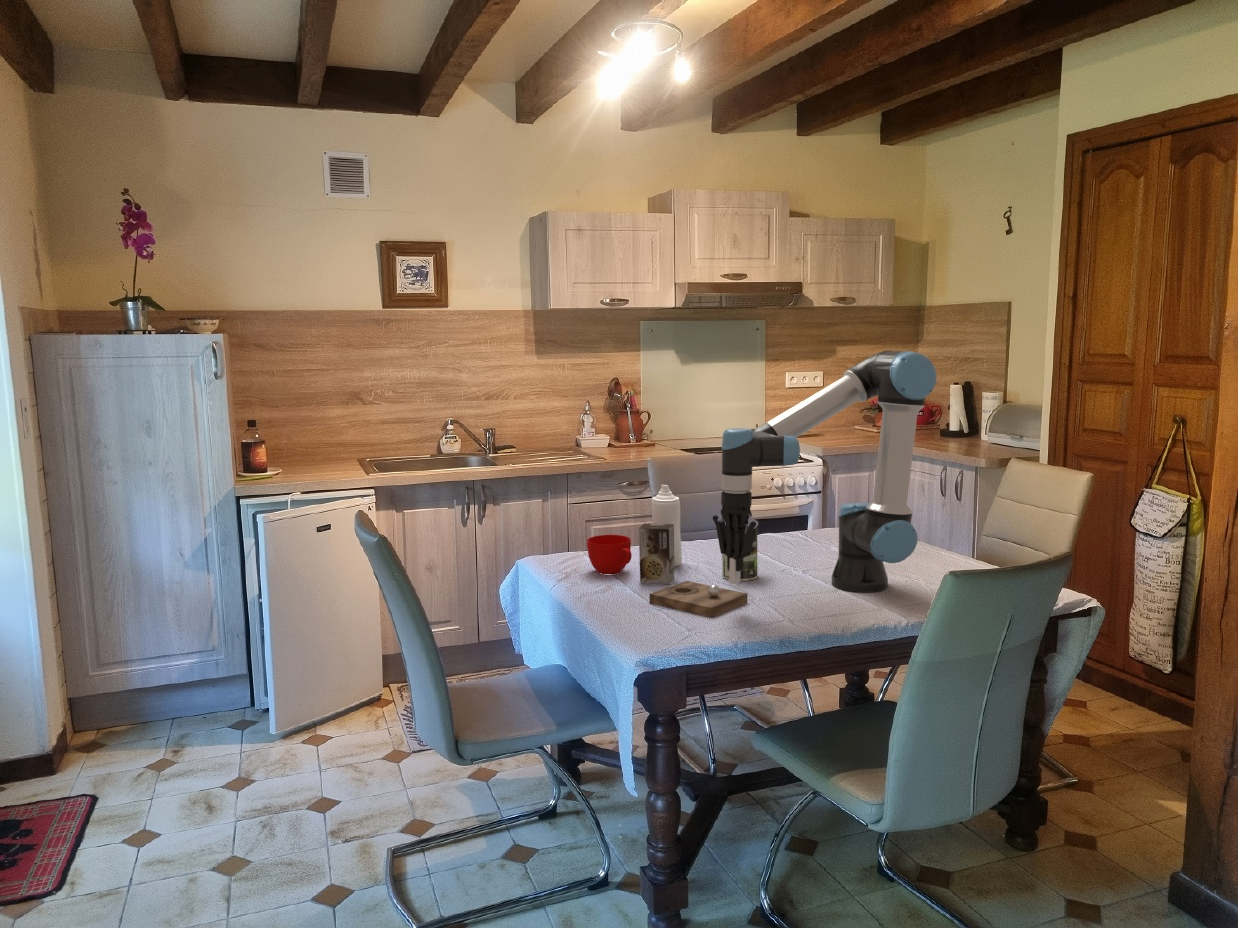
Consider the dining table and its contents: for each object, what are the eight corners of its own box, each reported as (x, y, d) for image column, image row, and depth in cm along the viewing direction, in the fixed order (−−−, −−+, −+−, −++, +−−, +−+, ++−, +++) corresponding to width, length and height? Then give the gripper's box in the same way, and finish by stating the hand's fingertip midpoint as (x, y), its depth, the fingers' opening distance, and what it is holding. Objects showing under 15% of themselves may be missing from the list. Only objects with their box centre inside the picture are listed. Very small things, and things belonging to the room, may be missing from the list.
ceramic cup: (612, 583, 266) (611, 549, 265) (579, 571, 280) (578, 538, 278) (648, 575, 274) (648, 542, 272) (614, 564, 287) (613, 532, 286)
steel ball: (722, 596, 243) (722, 584, 242) (715, 599, 241) (715, 587, 240) (712, 594, 245) (712, 582, 245) (705, 597, 243) (705, 585, 242)
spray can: (692, 566, 283) (691, 484, 279) (660, 571, 279) (660, 488, 275) (673, 558, 293) (672, 479, 290) (643, 562, 289) (642, 482, 285)
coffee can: (758, 572, 275) (758, 525, 273) (756, 582, 265) (756, 533, 263) (723, 571, 277) (723, 524, 275) (720, 580, 267) (720, 532, 265)
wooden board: (747, 602, 246) (747, 593, 245) (711, 617, 234) (711, 607, 234) (686, 589, 259) (686, 580, 259) (649, 602, 247) (649, 593, 247)
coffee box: (675, 578, 270) (674, 523, 268) (670, 584, 264) (669, 528, 262) (644, 577, 273) (643, 522, 270) (638, 582, 266) (638, 527, 264)
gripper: (767, 491, 233) (764, 584, 236) (723, 485, 241) (722, 575, 244) (750, 495, 227) (748, 590, 230) (706, 489, 235) (705, 581, 239)
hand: (734, 582), depth 237 cm, fingers closed
